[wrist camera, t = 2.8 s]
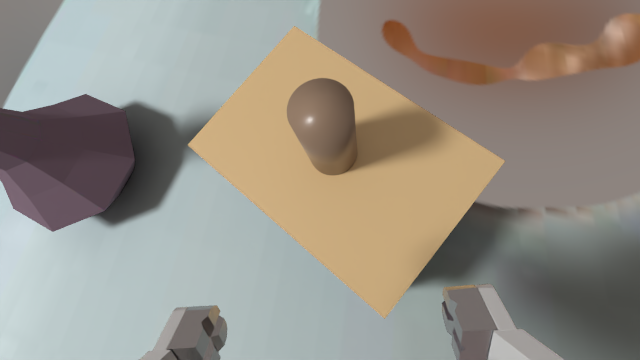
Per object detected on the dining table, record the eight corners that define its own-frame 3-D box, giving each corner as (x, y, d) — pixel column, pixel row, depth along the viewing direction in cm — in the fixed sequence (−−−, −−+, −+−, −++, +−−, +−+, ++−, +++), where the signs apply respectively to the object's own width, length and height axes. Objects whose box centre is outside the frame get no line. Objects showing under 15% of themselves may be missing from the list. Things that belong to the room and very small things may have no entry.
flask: (60, 111, 42) (-193, -8, 23) (169, 108, 40) (-11, -28, 21) (29, 232, 39) (-304, 209, 19) (148, 236, 36) (-97, 215, 17)
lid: (300, 44, 32) (269, -56, 21) (491, 170, 26) (573, 115, 16) (202, 154, 30) (119, 103, 20) (382, 312, 25) (395, 353, 14)
